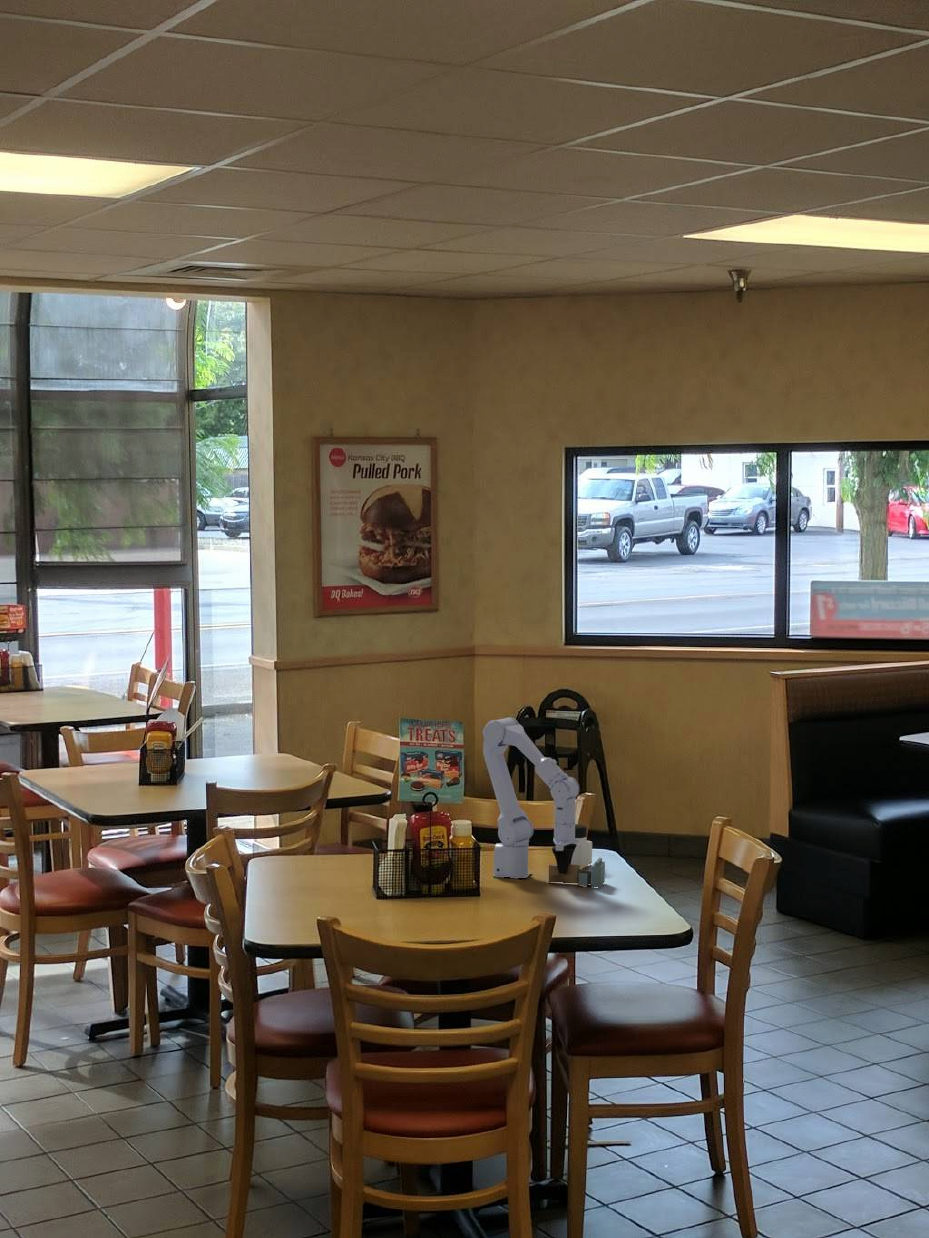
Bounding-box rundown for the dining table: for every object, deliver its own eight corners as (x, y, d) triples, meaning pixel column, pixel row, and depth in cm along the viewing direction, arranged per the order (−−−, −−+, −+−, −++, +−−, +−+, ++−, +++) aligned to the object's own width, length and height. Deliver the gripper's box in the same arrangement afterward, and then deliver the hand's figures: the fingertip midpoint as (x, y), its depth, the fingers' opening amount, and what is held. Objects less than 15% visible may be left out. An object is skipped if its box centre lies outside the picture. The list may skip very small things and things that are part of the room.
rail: (548, 883, 398) (548, 865, 398) (550, 880, 401) (551, 862, 401) (590, 886, 395) (590, 868, 395) (592, 884, 398) (592, 865, 398)
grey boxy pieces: (578, 887, 394) (578, 861, 394) (582, 881, 400) (582, 856, 400) (600, 888, 392) (601, 863, 392) (604, 883, 399) (605, 858, 398)
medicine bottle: (592, 865, 421) (592, 824, 420) (580, 870, 415) (581, 828, 414) (570, 862, 425) (571, 821, 424) (558, 866, 419) (559, 825, 418)
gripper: (574, 828, 390) (573, 878, 390) (583, 818, 404) (583, 867, 404) (548, 826, 391) (547, 876, 392) (558, 817, 405) (558, 865, 406)
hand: (564, 871), depth 398 cm, fingers closed on rail, 3 cm apart
